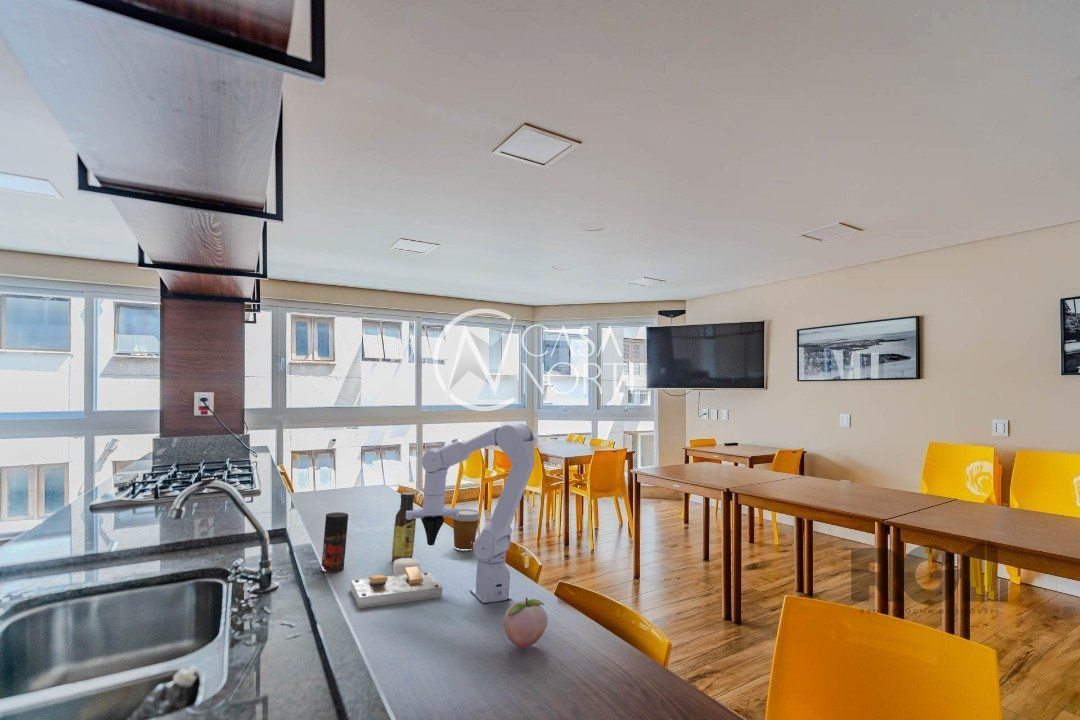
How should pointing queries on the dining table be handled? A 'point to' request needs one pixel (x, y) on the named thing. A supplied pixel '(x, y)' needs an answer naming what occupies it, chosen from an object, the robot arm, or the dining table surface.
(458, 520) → the disposable coffee cup
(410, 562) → the white egg-shaped stone
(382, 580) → the paddle
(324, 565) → the deodorant
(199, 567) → the dining table surface
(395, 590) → the breaker panel
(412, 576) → the paddle
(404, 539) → the sauce bottle
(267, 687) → the dining table surface
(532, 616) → the decorative fruit
